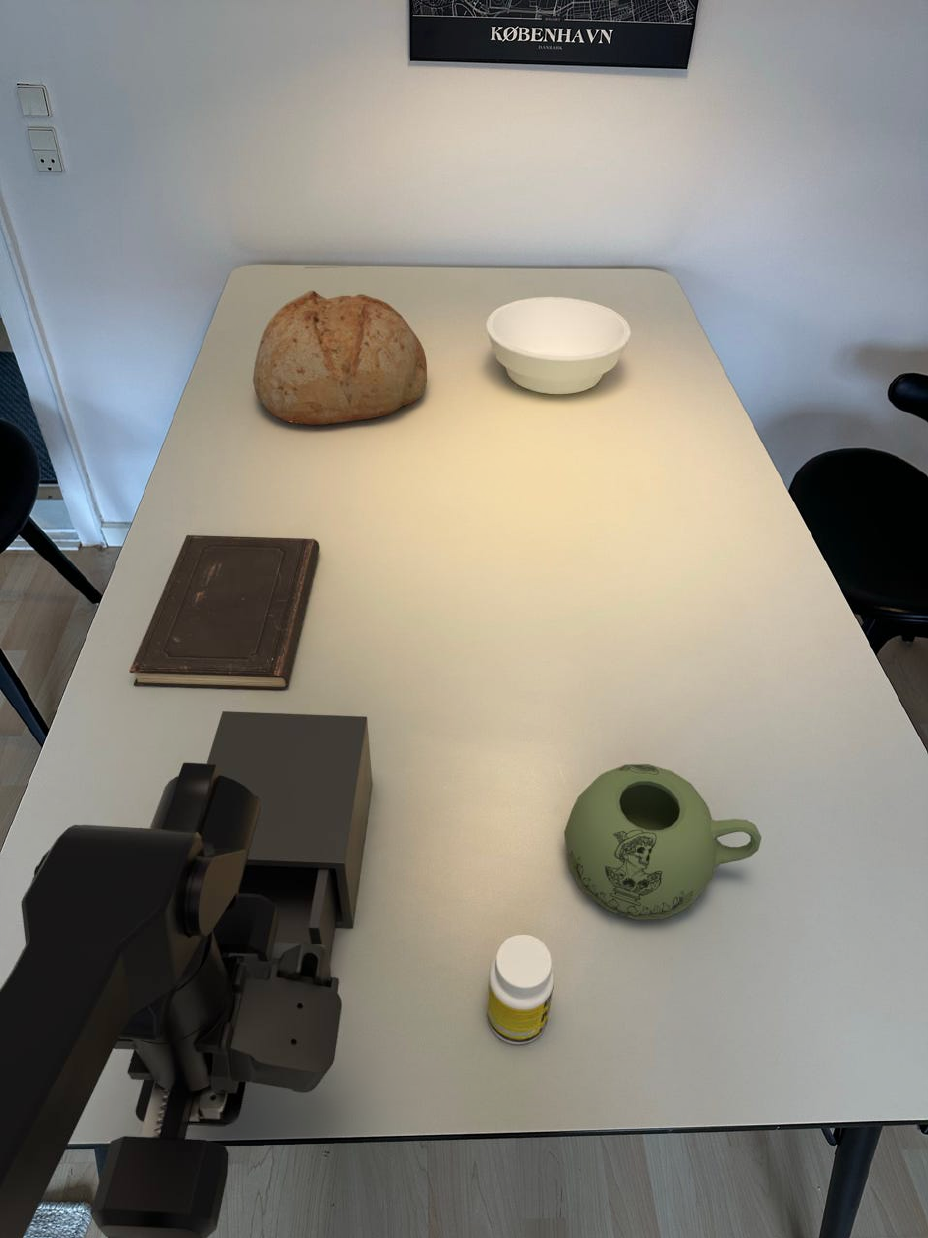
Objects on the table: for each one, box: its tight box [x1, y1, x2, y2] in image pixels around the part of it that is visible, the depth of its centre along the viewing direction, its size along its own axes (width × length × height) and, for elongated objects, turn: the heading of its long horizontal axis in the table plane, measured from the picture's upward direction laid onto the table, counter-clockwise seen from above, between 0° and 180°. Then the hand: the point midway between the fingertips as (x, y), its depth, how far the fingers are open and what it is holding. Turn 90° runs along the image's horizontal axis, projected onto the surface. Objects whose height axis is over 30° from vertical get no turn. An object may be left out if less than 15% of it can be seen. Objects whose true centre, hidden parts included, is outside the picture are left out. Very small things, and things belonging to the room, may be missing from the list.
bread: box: [252, 290, 428, 426], centre depth 135 cm, size 26×23×15 cm
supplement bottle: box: [485, 934, 555, 1045], centre depth 66 cm, size 5×5×8 cm
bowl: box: [485, 296, 632, 395], centre depth 143 cm, size 22×22×8 cm
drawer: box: [229, 865, 339, 979], centre depth 69 cm, size 18×11×8 cm, turn 178°
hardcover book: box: [129, 534, 321, 691], centre depth 101 cm, size 16×23×2 cm
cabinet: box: [205, 710, 374, 929], centre depth 76 cm, size 15×13×10 cm
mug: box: [563, 763, 762, 920], centre depth 76 cm, size 16×13×9 cm
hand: (220, 1100), depth 58 cm, fingers closed
